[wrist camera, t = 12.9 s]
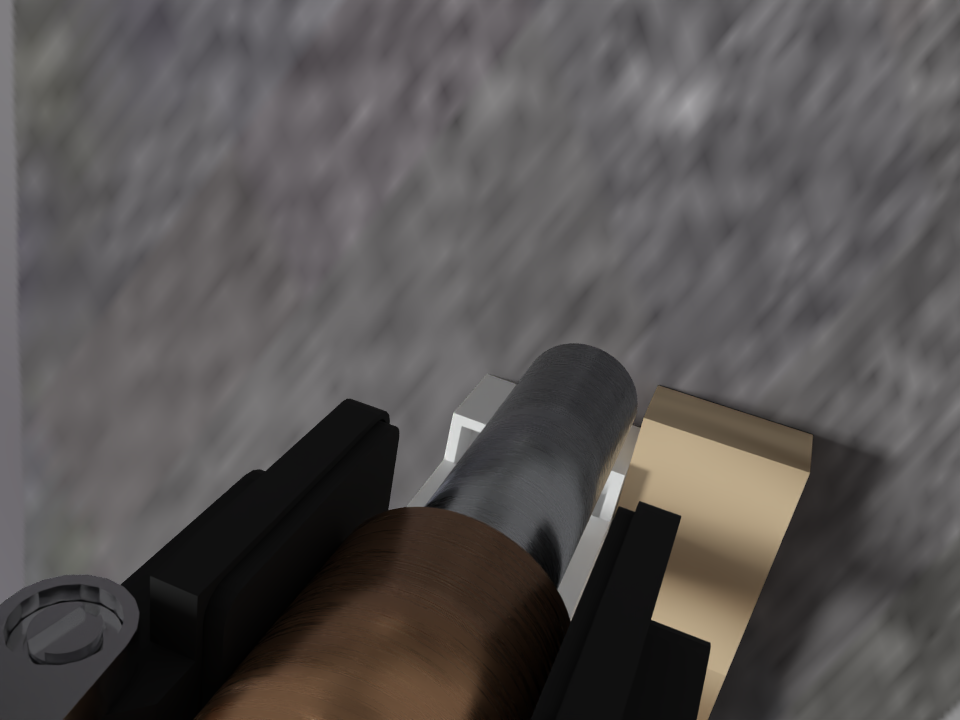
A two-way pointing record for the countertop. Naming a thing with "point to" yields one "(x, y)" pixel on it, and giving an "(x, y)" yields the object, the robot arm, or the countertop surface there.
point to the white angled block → (472, 422)
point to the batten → (716, 514)
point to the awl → (453, 572)
